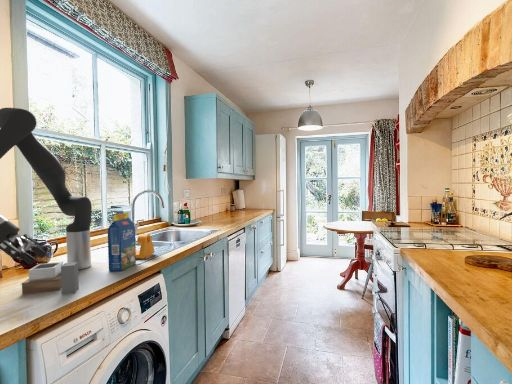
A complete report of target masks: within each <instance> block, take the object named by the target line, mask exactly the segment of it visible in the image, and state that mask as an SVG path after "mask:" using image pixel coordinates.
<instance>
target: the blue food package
mask: <svg viewBox="0 0 512 384" xmlns="http://www.w3.org/2000/svg"><path fill="white" fill-rule="evenodd" d="M107 251H108V252H107V253H108V254H107V255H108V256H107V257H108V271H109V272H123V271H125V270H126V269H129V268H131V267H133V265H135V264H136V263H137V258H136V252H137V250H136V226H135V223H134V221H133V220H132V219H131V218H130V215H129V212H123V213H119V214H118V213H117V214H114V215H113V221H112V223H110V225H109V226H108V229H107Z"/></svg>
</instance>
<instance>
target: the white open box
mask: <svg viewBox="0 0 512 384" xmlns="http://www.w3.org/2000/svg"><path fill="white" fill-rule="evenodd" d="M63 264H64V261H60V262H57V261H56V262H49V263H48V262H47V263H45V262H44V263H38V264H37V265H35V266H33V267H32V268H30V269H29V270H28V279H29V281H36V280H46V279H55V278H57V277H58V276H59V275H60V274H61V266H62V265H63Z"/></svg>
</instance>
